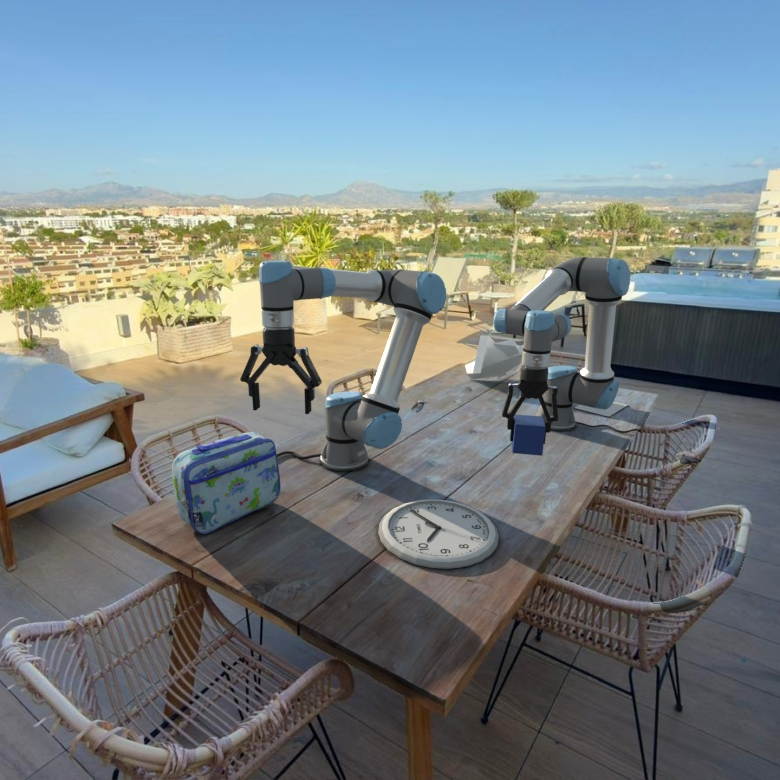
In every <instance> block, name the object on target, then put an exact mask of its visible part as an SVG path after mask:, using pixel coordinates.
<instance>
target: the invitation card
mask: <svg viewBox="0 0 780 780" xmlns="http://www.w3.org/2000/svg"><path fill="white" fill-rule="evenodd" d="M628 406H629V404H627V403H623V402H618V401H614V402H613V403H612V405H611V406H610V407H609V408H608V409H605V410H604V409H598V408H596V409H595V408H593V407H588V406H584V405H580V404H577V405H575V406H574V407H573V409H575V410H581V411H584V412H587V413H593V414H596V415H600V416H604V417H608V418H609V417H611V416H613V415H614V414H616V413H617V412H619V411H621V410H623V409H624V408H626V407H628Z"/></svg>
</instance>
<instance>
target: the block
mask: <svg viewBox="0 0 780 780" xmlns="http://www.w3.org/2000/svg"><path fill="white" fill-rule="evenodd" d="M513 418H515V425H514V435H513V441H510V442H511V443H510V444H511V451H512V454H519V455H529V456H539V457H540V456H543V453H544V445H545V444H544V437H545V428H546V426H545V423H544V420H543V417H542V416H536V415H530V414H529V415H528V414H517V413H516V414H515V416H514V417H513Z"/></svg>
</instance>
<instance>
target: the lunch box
mask: <svg viewBox="0 0 780 780" xmlns="http://www.w3.org/2000/svg"><path fill="white" fill-rule="evenodd" d="M280 475H281V474H280V467H279V462H278V457H277V448H276V444H275V442H274V441H273V440H272V439H271V438H266V437H264V436H262V435H261V433H260V434H259V433H258V432H254V431H253V432H252V431H250V432H244V433H239V434H235V435H231V436H228V437H224V438H222V439H217V440H214V441H211V442H208V443H205V444H202V445H201V444H199V445H196V447H192V448H190V449H187V450H185V451H182V452H181V453H179V454H178V455H177V456H176V457H175V458H174V460H173V462H172V465H171V477H172V483H173V490H174V491H173V492H174V496H175V503H176V508H177V513H178V516H179V518H180V519H181V521H183V522H185V523H187V524H188V525H189V526H190V527H191V528H192V529H193V531H195V532H197V533H199V534H202V535H206V534H210V533H213V532H214V531H216V530H218V529H220V528H222V527H224V526H226V525H228V524H231V523H233V522H235V521H237V520H239V519H241V518H244V517H245V516H247V515H249V514H251V513H254V512H256V511H258V510H261V509H264V508H266V507H268V506H270V505H272V504H273V503H275V501H277V499H279V495H280V493H281V476H280Z"/></svg>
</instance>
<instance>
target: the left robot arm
mask: <svg viewBox="0 0 780 780" xmlns="http://www.w3.org/2000/svg"><path fill="white" fill-rule="evenodd" d="M258 270H259V271H258V276H259V277H258V283H259V294H260V306H261V307H260V308H261V325H262V327H263V328H262V343H263V345H261V346H260V345H259V344H258V343H257V344H254V345H253V346H251V347H250V356H249V357H248V360H247V362H246V364H245V367H244V370H243V371H242V374H241V376H240V378H239V379H240V382H241V383H245V384H247V387H248V396H249V397H251V398H252V399H251V400H252V411H257V410H258V409H260V408H261V399H260V398H261V397H260V395H261V394H260V383H259V382H257V380H258V379H259V378H260V376H261V375H262V374H263V373H264V372H265V370H266V369H267V368H268V367H269V365H270V364H271V365H272V366H281V367H286V366H288V368H289V369H291V370H292V371H293V373H294V374H295V375H296V376H297V377H298V378H299V379H300V381H301V382H302V383H303V384H304V385H305V388H304V391H303V392H304V393H303V394H304V414H305V415H310V413H311V412H312V402H313V401H314V400H315V398H316V395H315V394H316V392H315V389H316V388H319V386H320V385H322V383H323V381H322V378H321V376H320V375H319V373H318V371H317V369H316V367H315V365H314V363H313V361H312V359H311V358H310V353H309V348H308V347H307V346H304V347H302V348H301V347H300V348H297V347H296V337H295V335H296V334H295V328H294V327H293V326H294V325H295V314H294V313H295V312H294V310H295V309H294V307H295V306H294V301H305V300H316V299H319V300H322V299H326V298H330V297H338V298H355V299H364V300H365V301H367V302H370V303H379V304H383V305H387V306H390V307H393V312H394V314H395V318H394V321H393V324H392V327H391V330H390V333H389V336H388V338H387V341H386V345H385V347H384V351H383V353H382V356H381V358H380V362H379V365H378V368H377V370H376V373H375V375H374V379H373V382H372V385H371V388H370V390H369V391H368V392H366V393H365V394H364V395H363V394H362V392H360V391H355V390H352V391H351V390H350V391H347V390H346V391H338V392H335V393H334V392H333V393H330V394H329V395H328V396H327V397H326V398H325V404H324V414H325V441H324V444H323V448H322V451H321V453H315V454H314V453H313V454H310V455H300V454H298V453H296V452H295V451H291V450H285V451H280V452H278V453H276V455H277V458H279V457H280V456H283V455H293V456H294V457H296V458H297V459H299V460H309V459H314V458H320V464H321V465H322V467H323V468H325V469H327V470H330V471H333V472H353V471H358V470H360V469H362V468H364V467H365V466H367V464H368V463H369V453H368V451H367V448H366V447H370V448H373V449H378V450H383V449H386V448H389V447H390V446H391V445H393V444H394V443H395V442H396V441H397V440H398V438H399V437H400V435H401V433H402V428H403V423H402V421H403V420H402V418H401V416H400V414H399V412H400V410H401V407H400V405H399V402H398V400H399V398H400V394H401V391H402V388H403V385H404V383H405V379H406V377H407V375H408V372H409V368H410V365H411V362H412V359H413V356H414V353H415V350H416V348H417V345H418V342H419V339H420V336H421V333H422V330H423V328H424V326H425V325H427V324H429V323H430V322H431V320H432V318H433V315H435V314H438V313H440V312H441V311H442V310H443V309H444V307H445V305H446V301H447V287H446V285H445V282H444V279H442V277H441V276H440V275H438V274H437V273H434V272H429V271H427V270H423V271H420V270H413V269H411V270H409V269H399V268H397V269H396V268H395V269H368V270H367V271H363V272H362V271H353V270H344V269H343V270H342V269H331V268H328V267H321V266H317V267H313V266H312V267H311V266H302V265H301V266H299V265H293V264H292V262H291V261H289V260H264V261H262V262H261V263H260V264H259V269H258ZM261 354H263V355H264V357H265V358H264V359H263V361H262V362H261V364H260V365H259V366H258V368H257V369H256V370H255V371H254V373H252V371H253V369H254V367H255V365H256V362H257V360H258V358H259V356H260V355H261ZM296 355H297V356H298V357H299V358H300V360H301V362H302V364H303V365H304V368H305V369H306V371H305V369H304V368H303V367H302V365H300V364H299V361H298V359H297V358H296ZM251 374H252V375H251Z"/></svg>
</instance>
